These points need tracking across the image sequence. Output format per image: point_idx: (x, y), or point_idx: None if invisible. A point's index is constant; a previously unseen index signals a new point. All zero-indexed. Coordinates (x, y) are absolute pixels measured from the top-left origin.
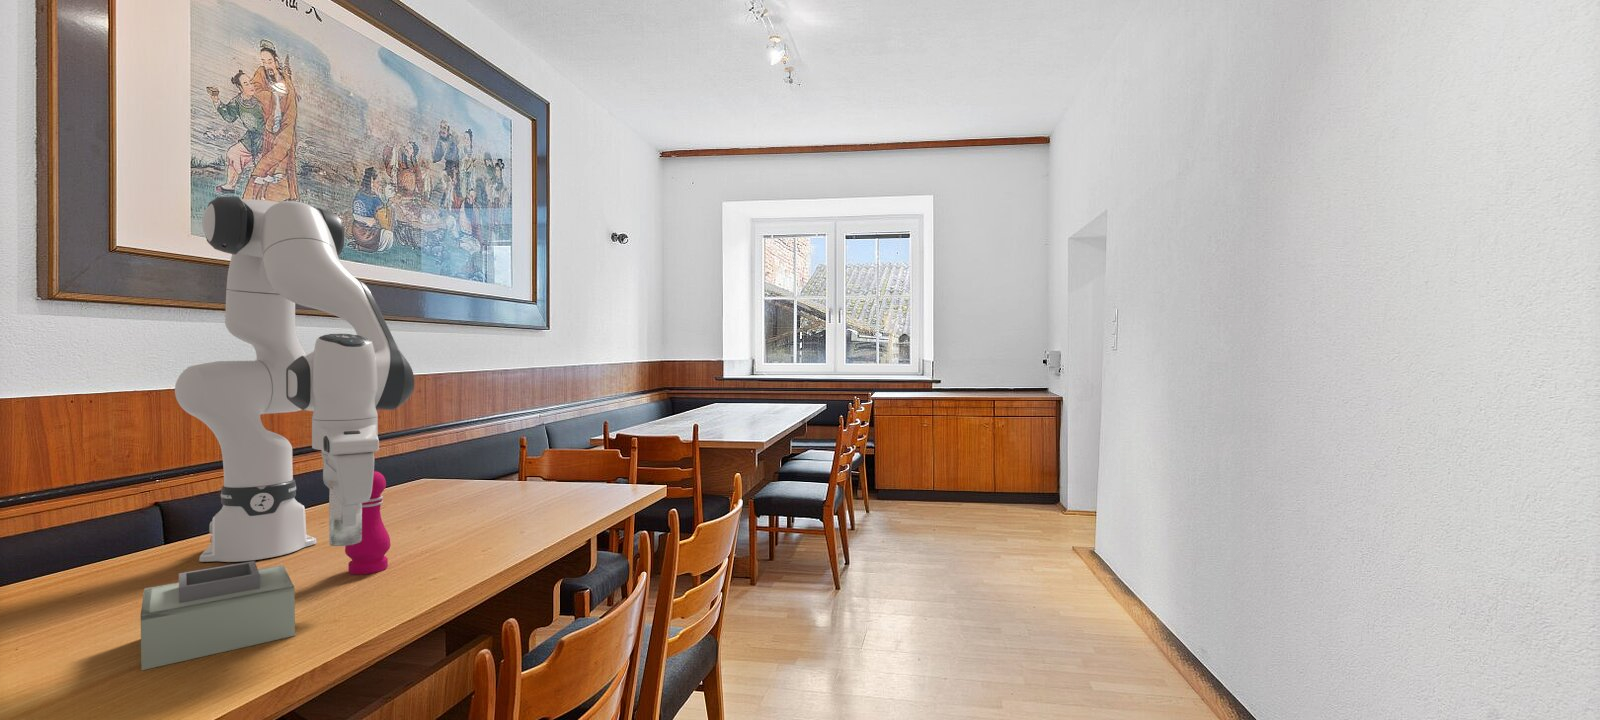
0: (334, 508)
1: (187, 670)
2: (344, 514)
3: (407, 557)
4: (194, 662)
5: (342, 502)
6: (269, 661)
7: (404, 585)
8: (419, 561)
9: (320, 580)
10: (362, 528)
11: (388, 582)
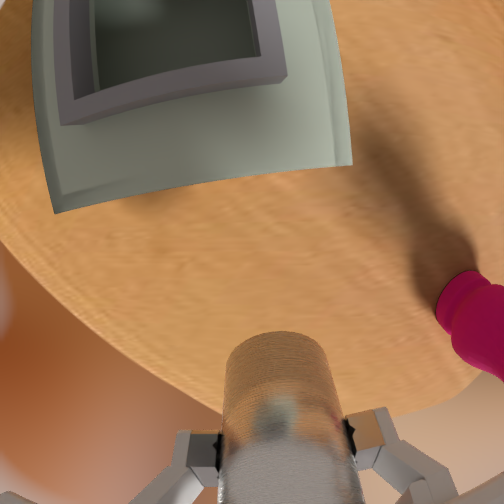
0: (238, 479)
1: None
2: (162, 473)
3: None
4: None
5: (2, 494)
6: (18, 165)
7: None
8: (436, 365)
9: (463, 224)
10: (498, 347)
11: (360, 333)
